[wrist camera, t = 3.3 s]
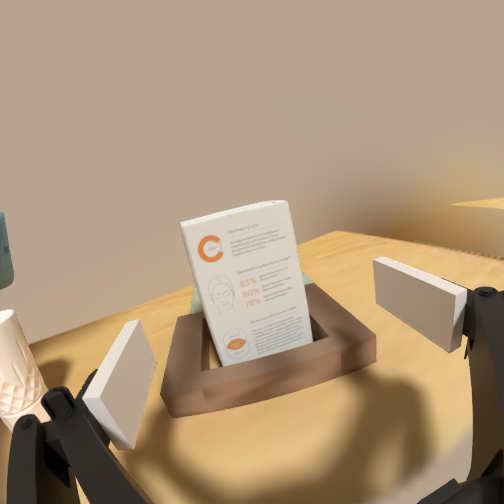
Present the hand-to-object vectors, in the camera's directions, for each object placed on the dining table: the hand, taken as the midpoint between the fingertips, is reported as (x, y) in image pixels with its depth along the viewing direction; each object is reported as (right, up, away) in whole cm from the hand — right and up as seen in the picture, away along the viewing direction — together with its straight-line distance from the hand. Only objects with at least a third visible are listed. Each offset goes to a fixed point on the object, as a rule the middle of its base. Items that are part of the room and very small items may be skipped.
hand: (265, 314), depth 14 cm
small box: (0, -6, +11) cm, 12 cm away
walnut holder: (0, -6, +11) cm, 12 cm away
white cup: (-22, -13, +3) cm, 26 cm away
